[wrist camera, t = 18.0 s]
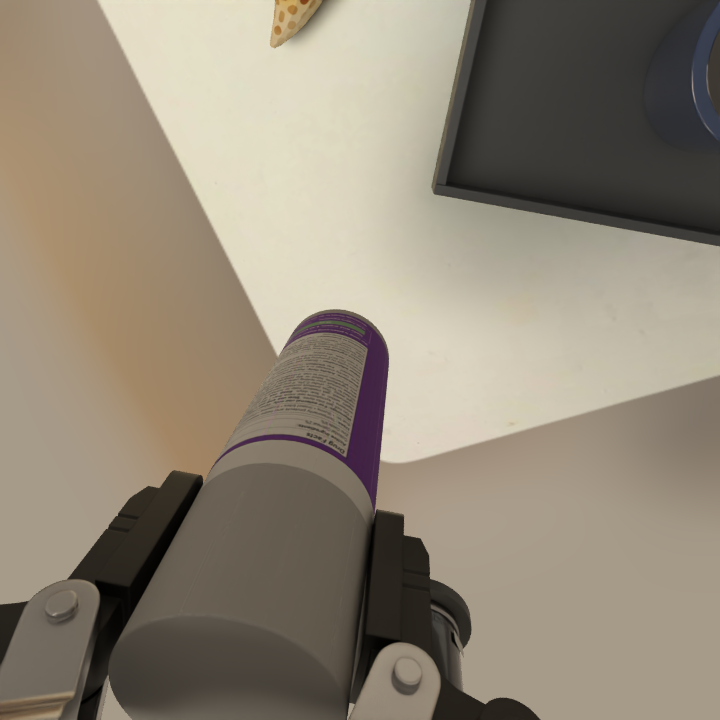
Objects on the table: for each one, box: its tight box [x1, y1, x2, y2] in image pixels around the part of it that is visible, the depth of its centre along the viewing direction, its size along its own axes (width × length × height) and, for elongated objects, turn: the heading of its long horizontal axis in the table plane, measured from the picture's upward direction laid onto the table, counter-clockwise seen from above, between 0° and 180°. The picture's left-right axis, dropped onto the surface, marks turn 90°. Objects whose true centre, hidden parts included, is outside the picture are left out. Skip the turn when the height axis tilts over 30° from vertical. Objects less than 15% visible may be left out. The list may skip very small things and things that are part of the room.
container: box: [108, 309, 389, 720], centre depth 16 cm, size 5×5×15 cm
